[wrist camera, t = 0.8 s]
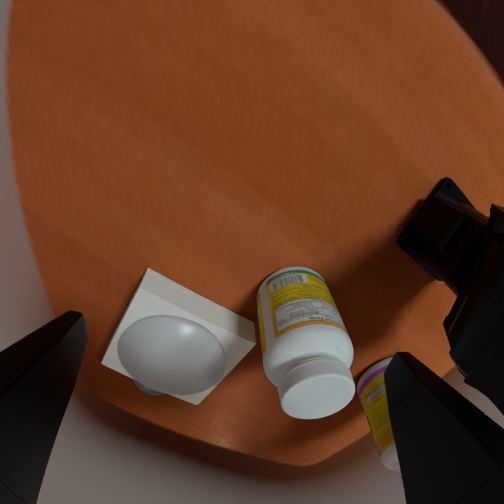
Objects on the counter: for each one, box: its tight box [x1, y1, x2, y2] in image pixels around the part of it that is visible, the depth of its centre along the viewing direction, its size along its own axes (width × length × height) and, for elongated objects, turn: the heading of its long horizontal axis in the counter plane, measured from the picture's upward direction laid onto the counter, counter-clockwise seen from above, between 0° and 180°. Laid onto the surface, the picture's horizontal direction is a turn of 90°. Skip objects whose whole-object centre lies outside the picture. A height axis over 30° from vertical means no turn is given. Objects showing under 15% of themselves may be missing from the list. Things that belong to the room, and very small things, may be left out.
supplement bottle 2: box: [357, 357, 404, 490], centre depth 23 cm, size 7×7×13 cm
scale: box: [101, 268, 256, 405], centre depth 24 cm, size 9×10×4 cm
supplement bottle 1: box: [257, 267, 355, 419], centre depth 19 cm, size 5×5×10 cm
